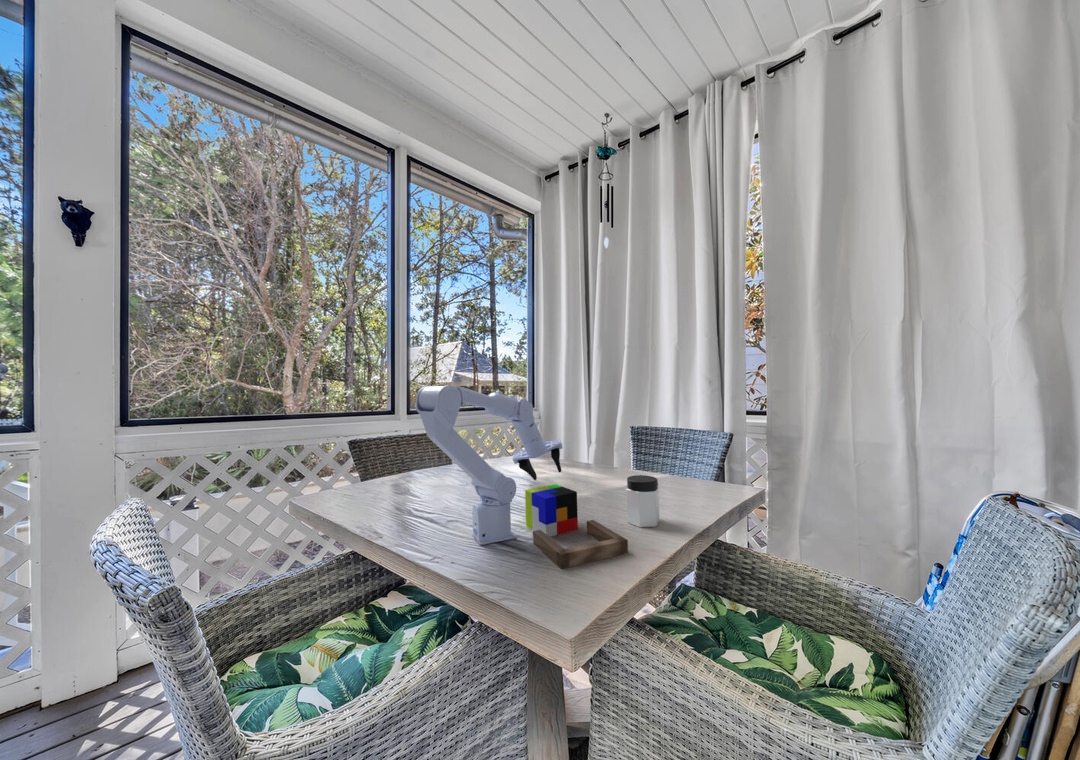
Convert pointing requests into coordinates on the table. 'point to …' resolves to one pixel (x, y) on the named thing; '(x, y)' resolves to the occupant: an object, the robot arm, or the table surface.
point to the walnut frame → (583, 546)
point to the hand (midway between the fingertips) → (547, 474)
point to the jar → (642, 501)
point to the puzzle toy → (551, 509)
